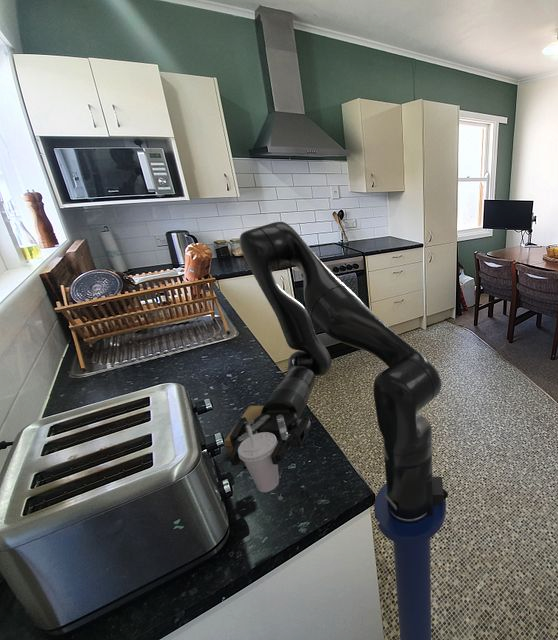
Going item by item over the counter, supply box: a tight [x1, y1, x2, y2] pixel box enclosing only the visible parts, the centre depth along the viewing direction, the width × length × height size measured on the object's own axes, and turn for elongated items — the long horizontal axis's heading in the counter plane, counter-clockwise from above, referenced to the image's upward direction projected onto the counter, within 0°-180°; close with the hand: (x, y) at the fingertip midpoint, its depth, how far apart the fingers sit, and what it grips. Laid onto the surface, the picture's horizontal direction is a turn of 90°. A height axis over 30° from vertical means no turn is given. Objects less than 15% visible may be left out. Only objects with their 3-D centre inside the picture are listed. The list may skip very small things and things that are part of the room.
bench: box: [223, 405, 264, 456], centre depth 86 cm, size 10×13×5 cm
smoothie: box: [238, 425, 280, 493], centre depth 62 cm, size 6×6×14 cm
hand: (253, 461), depth 59 cm, fingers closed on smoothie, 6 cm apart
